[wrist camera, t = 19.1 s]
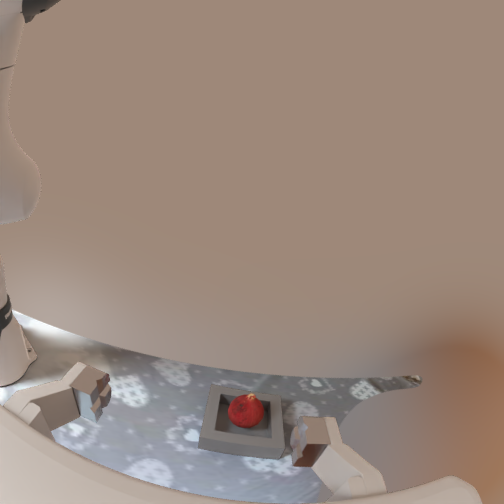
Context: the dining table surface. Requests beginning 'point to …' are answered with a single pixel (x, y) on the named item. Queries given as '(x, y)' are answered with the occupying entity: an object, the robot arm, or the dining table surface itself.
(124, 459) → the dining table surface
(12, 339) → the robot arm
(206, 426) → the holder
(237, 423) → the red round fruit
